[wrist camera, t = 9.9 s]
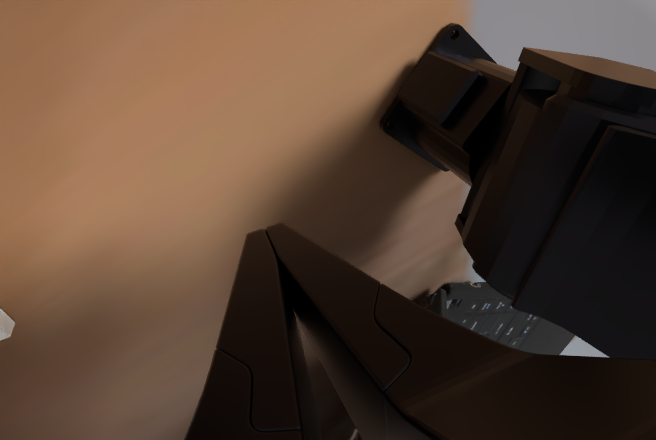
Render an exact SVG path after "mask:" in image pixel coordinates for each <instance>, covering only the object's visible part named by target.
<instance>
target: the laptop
mask: <svg viewBox="0 0 656 440" xmlns="http://www.w3.org/2000/svg"><path fill="white" fill-rule="evenodd" d="M430 302H431V305H430V307H429V309H428V310H430V311H432V312H434V313H436V314H438V315H440V316H443V317H445V318H447V319H449V320H451V321H453V322H455V323H458V324H460V325H462V326H464V327H466V328H468V329H470V330H473V331H475V332H477V333H479V334H481V335H483V336H485V337H488V338H490V339H492V340H494V341H496V342H499V343H501V344H503V345H506V346H508V347H511V348H514V349H517V350H521V351H525V352H529V353H535V354H546V355H559V354H560V353H561V352H562V351H563V350H564V348H565V347H566V346H567V345H568V344H569V342H570V341H571V340H572V339H573V337H574V336H575V335H574V334H573V333H571V332H569V331H567V330H566V329H564V328H562V327H560V326H558V325H556V324H554V323H551V322H549V321H547V320H545V319H543V318H541V317H538V316H534V315H531V314H528V313H525V312H522V311H518V310H516V309H514V308H512V306H511V302H512V300H510V299H509V298H507V297H505V296H503V295H502V294H500V293H499V292H497V291H496V290H495V289H493V288H492V287H490V285H489V284H488V283H487V282H477V283H474V284H472V283H469V282H465V283H450V284H448V285H447V286H446V287H445V288H444V289H439V290H438V292H437V293H435V294H434V295H433V297H432V299H431V301H430ZM358 440H362V438H361V436H360V437H359V438H358Z"/></svg>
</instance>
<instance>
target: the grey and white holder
mask: <svg viewBox="0 0 656 440" xmlns="http://www.w3.org/2000/svg"><path fill="white" fill-rule="evenodd" d="M14 325H15V322H14V321H13V320H12V319H11V318H10V317H9V316H8V315H7V314H6V313H5V312H4V311H3V310H2V309H1V308H0V340H3V339H6V338H9V337H10V336H11V334H12V331H13V328H14Z"/></svg>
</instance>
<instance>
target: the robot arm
mask: <svg viewBox="0 0 656 440" xmlns="http://www.w3.org/2000/svg"><path fill="white" fill-rule="evenodd" d="M453 31H455V34H454V36H453V37H452V38H451V33H452V32H453ZM518 61H520V64H519V67H518V69H517V71H514V70H512V69H509V68H506V67H503V66H501V65H498V64H497V63H496V62H495V61H494V60H493V59H492V58H491V57H490V56H489V55H488V54H487V53H486V52H485V51H484V49H483V48H482V47H481V46H480V45H479V44H478V43H477V42H476V41H475V40H474V39H473V38H472V37H471V36H470V35H469V34H468V33H467V32H466V30H465V29H464V28H463V27H462V26H460V25H459V24H455V23H450V24H448V25H447V26H446V27H445V28H444V30H443V31H442V33H441V34H440V36H439V37H438V38H437V40H436V41H435V43H434V44H433V46H432V47H431V48H430V50H429V51H428V53H426V54H425V55H424V57H423V58H422V60H421V61H420V63H419V64H418V65H417V67H416V68H415V70H414V71H413V73H412V74H411V76H410V77H409V78H408V80H407V81H406V83H405V84H404V86H403V87H402V88H401V90H400V91H399V94H398V96H397V97H396V99H395V100H394V102H393V103H392V104H391V106H390V107H389V109H388V110H387V112H386V113H385V114H384V116H383V117H382V119H381V121H380V128H381V129H382V130H383V131H384V132H385V133H387V134H388V135H390V136H391V137H393V138H394V139H396V140H397V141H399V142H400V143H402V144H403V145H405V146H406V147H408V148H409V149H411V150H412V151H414V152H415V153H417V154H418V155H420V156H422V157H423V158H425V159H426V160H428V161H429V162H431V163H432V164H434V165H435V166H437V167H438V168H440V169H441V170H443V171H445V172H446V171H449V170H450V171H451V172H453V173H454V174H455V175H457V176H458V177H459V178H460V179H462V180H463V181H464V182H466V183H467V184H468V185H470V186H471V189H470V191H469V194H468V196H467V199H466V201H465V204H464V207H463V209H462V212H461V214H458V216H457V219H456V221H455V225H456V227H457V229H458V231H459V233H460V235H461V237H462V240H463V245H464V247H465V248H466V250H467V251H468V253H469V254H470V256H471V257H472V259H473V261H474V262H473V265H472V267H473V269H474V270H475V272H476V273H477V274H478V275H479V276H480V277H482V278H483V279H484V280H485V281H486V282H487V283H488V284H489V285H490V287H492V288H493V289H495V290H496V291H497V292H499V293H500V294H502V295H503V296H505V297H507V298H509V299H510V300H512V302H511V306H512V308H514V309H516V310H518V311H522V312H525V313H528V314H531V315H534V316H538V317H541V318H543V319H545V320H547V321H549V322H551V323H554V324H556V325H558V326H560V327H562V328H564V329H566V330H567V331H569V332H571V333H573V334H574V335H576V336H578V337H579V338H581V339H582V340H584V341H585V342H587V343H588V344H590V345H592V346H593V347H595V348H596V349H598V350H599V351H601V352H603V353H604V354H606V355H607V356H609V357H610V358H607V357H585V356H566V355H565V356H564V355H546V354H535V353H529V352H525V351H521V350H517V349H514V348H511V347H508V346H506V345H503V344H501V343H499V342H496V341H494V340H492V339H490V338H488V337H485V336H483V335H481V334H479V333H477V332H475V331H473V330H470V329H468V328H466V327H464V326H462V325H460V324H458V323H455V322H453V321H451V320H449V319H447V318H445V317H443V316H440V315H438V314H436V313H434V312H432V311H430V310H428V309H426V308H424V307H422V306H420V305H418V304H416V303H414V302H413V301H411V300H409V299H407V298H406V297H404V296H402V295H400V294H399V293H397V292H395V291H394V290H392V289H390V288H389V287H387V286H385V285H384V284H380V282H379V281H377V280H375V279H374V278H372V277H371V276H369V275H367V274H366V273H364V272H363V271H361V270H359V269H358V268H356V267H354V266H353V265H351V264H350V263H348V262H346V261H345V260H343V259H341V258H340V257H338V256H337V255H335V254H333V253H332V252H330V251H328V250H327V249H325V248H324V247H322V246H320V245H319V244H317V243H315V242H314V241H312V240H311V239H309V238H307V237H306V236H304V235H302V234H301V233H299V232H298V231H296V230H294V229H293V228H291V227H289V226H288V225H286V224H285V223H283V222H279V223H276V224H273V225H271V226H268V227H266V229H265V230H266V231H265V230H264V229H259V230H256V231H253V232H250V233H248V234H247V236H246V239H245V243H244V246H243V250H242V253H241V257H240V261H239V264H238V268H237V272H236V275H235V279H234V283H233V286H232V290H231V294H230V297H229V301H228V305H227V308H226V312H225V316H224V319H223V323H222V327H221V330H220V334H219V338H218V341H217V345H216V350H215V352H214V355H213V359H212V363H211V366H210V370H209V373H208V376H207V379H206V382H205V386H204V389H203V392H202V395H201V397H200V400H199V402H198V405H197V408H196V410H195V413H194V416H193V418H192V421H191V423H190V426H189V428H188V431H187V433H186V435H185V438H184V440H323V435H322V431H321V426H320V422H319V418H318V413H317V409H316V404H315V400H314V395H313V391H312V387H311V382H310V378H309V373H308V369H307V364H306V360H305V356H304V351H303V347H302V342H301V338H300V333H299V329H298V325H297V321H296V317H295V314H296V316H297V318H298V320H299V323H300V324H301V326H302V328H303V330H304V332H305V334H306V336H307V338H308V339H309V341H310V343H311V345H312V347H313V349H314V351H315V352H316V354H317V356H318V358H319V360H320V362H321V364H322V365H323V367H324V369H325V371H326V373H327V375H328V377H329V379H330V380H331V382H332V384H333V386H334V388H335V390H336V392H337V393H338V395H339V397H340V399H341V401H342V403H343V405H344V406H345V408H346V410H347V412H348V414H349V416H350V418H351V419H352V421H353V423H354V425H355V427H356V429H357V431H358V433H359V434H360V436H361V438H362V440H656V72H655V71H653V70H650V69H645V68H641V67H637V66H633V65H629V64H625V63H621V62H616V61H612V60H608V59H604V58H599V57H592V56H585V55H577V54H571V53H563V52H556V51H549V50H541V49H533V48H526V47H523V50H522V52H521V55H520V57H519V60H518ZM390 121H392V123H391V125H390V126H389V127H387V124H388V122H390ZM293 309H294V310H293ZM294 312H295V314H294Z"/></svg>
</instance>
